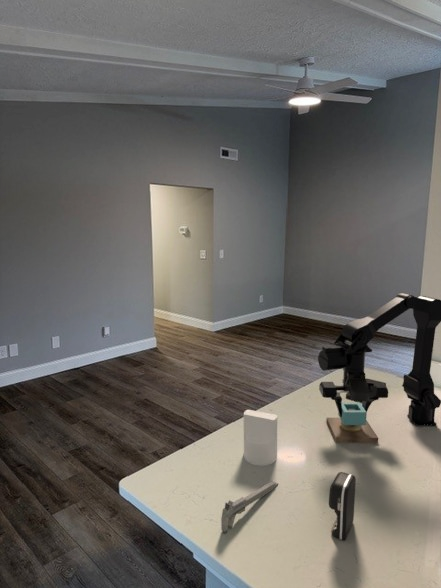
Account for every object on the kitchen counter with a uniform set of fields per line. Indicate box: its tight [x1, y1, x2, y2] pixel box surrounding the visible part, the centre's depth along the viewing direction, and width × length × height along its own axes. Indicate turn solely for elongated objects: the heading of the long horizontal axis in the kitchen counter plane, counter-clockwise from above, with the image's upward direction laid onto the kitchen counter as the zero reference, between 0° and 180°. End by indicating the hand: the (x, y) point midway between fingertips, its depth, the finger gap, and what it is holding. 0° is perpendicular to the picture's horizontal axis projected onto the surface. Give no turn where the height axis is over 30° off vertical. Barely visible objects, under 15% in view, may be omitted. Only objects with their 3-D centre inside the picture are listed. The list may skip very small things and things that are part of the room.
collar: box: [337, 402, 368, 425], centre depth 120 cm, size 6×6×4 cm
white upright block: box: [243, 409, 278, 466], centre depth 108 cm, size 9×9×12 cm
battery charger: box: [328, 471, 356, 541], centre depth 82 cm, size 7×4×11 cm, turn 147°
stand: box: [325, 408, 379, 444], centre depth 120 cm, size 12×12×7 cm
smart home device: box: [345, 378, 387, 403], centre depth 149 cm, size 8×2×20 cm
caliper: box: [220, 481, 279, 534], centre depth 89 cm, size 20×1×6 cm, turn 140°
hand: (351, 416), depth 120 cm, fingers closed on collar, 6 cm apart
